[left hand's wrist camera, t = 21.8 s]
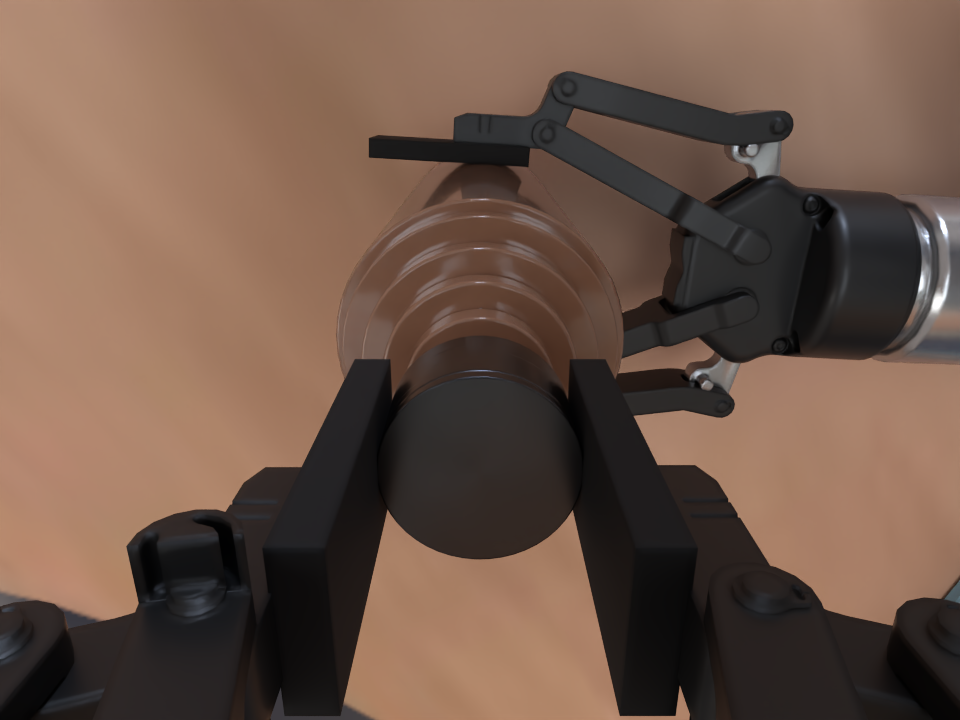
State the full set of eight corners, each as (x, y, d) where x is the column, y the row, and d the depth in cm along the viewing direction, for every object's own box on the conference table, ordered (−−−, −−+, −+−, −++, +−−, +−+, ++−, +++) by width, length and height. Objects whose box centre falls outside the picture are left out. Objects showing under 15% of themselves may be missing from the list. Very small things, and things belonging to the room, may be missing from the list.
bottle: (394, 287, 38) (253, 589, 14) (418, 136, 35) (291, 204, 11) (536, 314, 38) (626, 647, 15) (570, 168, 36) (748, 295, 12)
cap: (390, 330, 14) (375, 372, 12) (577, 338, 14) (594, 381, 12) (391, 492, 15) (376, 556, 13) (561, 499, 15) (574, 563, 13)
